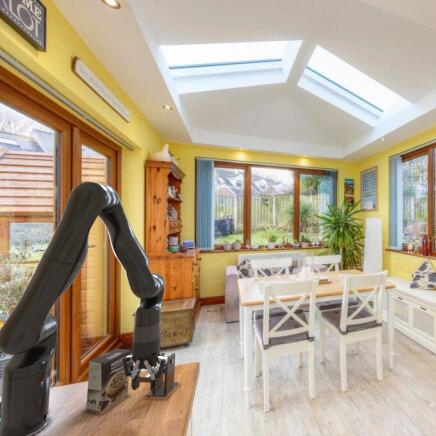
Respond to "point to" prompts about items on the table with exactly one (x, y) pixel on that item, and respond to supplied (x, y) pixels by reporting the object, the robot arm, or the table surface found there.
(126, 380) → the coffee box
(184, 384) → the table surface
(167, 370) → the switch bracket
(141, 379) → the switch lever
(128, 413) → the table surface
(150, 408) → the table surface
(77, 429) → the table surface
